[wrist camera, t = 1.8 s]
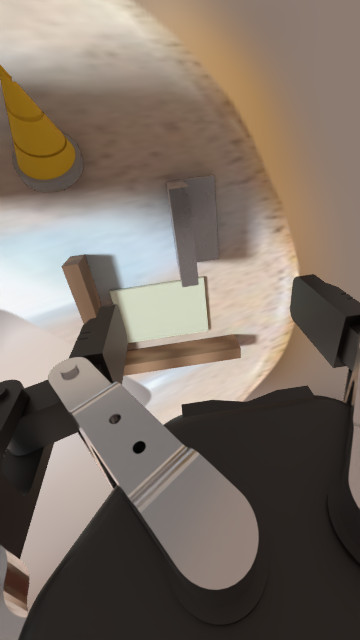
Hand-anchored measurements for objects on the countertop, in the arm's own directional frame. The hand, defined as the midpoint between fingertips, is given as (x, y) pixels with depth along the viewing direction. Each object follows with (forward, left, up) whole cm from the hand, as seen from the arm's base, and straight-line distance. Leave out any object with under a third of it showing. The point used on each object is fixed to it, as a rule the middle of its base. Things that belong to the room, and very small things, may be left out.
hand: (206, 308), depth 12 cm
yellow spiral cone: (-10, +8, -18) cm, 23 cm away
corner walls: (-3, -9, -18) cm, 20 cm away
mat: (-3, -10, -18) cm, 21 cm away
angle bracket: (+2, 0, -18) cm, 18 cm away
